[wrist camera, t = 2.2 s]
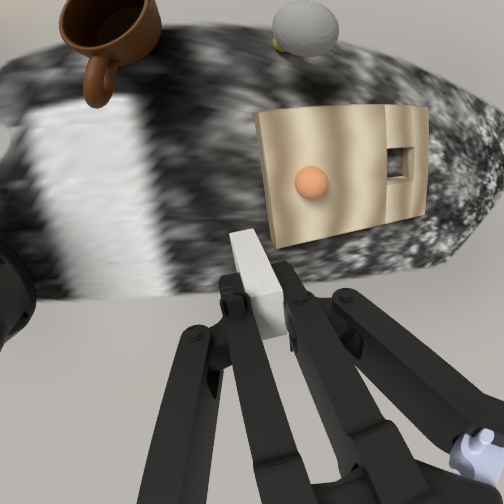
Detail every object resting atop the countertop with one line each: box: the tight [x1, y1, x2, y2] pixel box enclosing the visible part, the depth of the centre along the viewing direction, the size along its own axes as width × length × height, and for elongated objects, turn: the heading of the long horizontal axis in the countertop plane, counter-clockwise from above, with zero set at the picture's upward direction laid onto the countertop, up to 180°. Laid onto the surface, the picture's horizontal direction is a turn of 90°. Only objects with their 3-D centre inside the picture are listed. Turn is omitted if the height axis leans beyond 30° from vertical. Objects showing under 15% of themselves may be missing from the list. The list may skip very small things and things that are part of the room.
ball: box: [295, 166, 329, 200], centre depth 28 cm, size 3×3×3 cm
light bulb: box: [272, 0, 339, 57], centre depth 20 cm, size 5×6×10 cm
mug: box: [59, 0, 162, 109], centre depth 17 cm, size 12×8×9 cm, turn 173°
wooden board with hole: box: [254, 104, 429, 249], centre depth 31 cm, size 22×15×2 cm
